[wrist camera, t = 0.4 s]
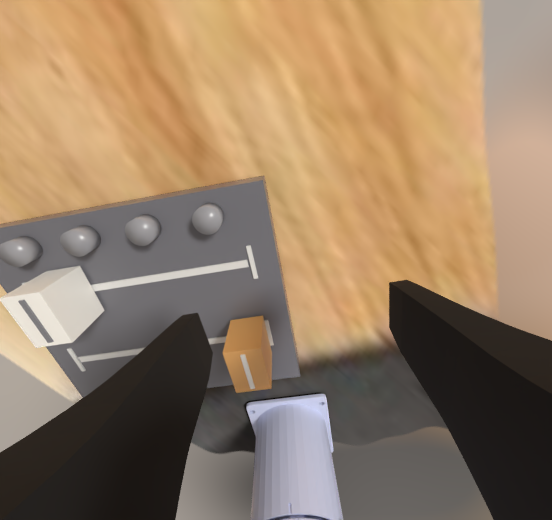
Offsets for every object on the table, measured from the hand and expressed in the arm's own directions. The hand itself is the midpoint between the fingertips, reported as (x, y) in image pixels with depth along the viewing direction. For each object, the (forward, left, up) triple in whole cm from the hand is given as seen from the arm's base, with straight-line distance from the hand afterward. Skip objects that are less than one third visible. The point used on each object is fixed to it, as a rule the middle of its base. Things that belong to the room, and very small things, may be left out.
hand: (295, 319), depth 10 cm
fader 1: (-1, +15, -7) cm, 16 cm away
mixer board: (-4, +10, -9) cm, 14 cm away
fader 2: (-7, +4, -7) cm, 11 cm away
